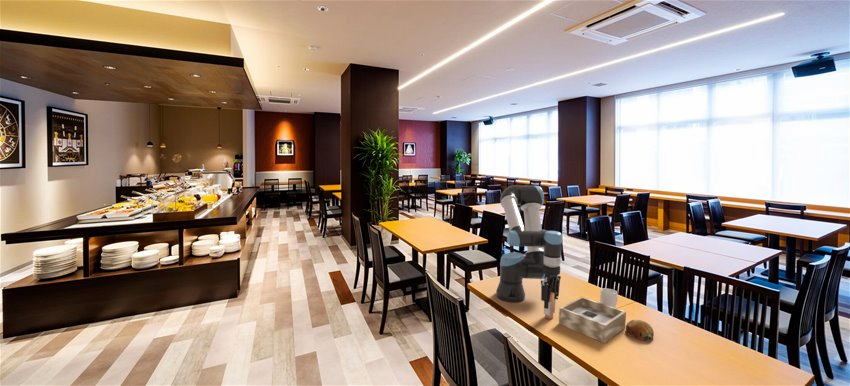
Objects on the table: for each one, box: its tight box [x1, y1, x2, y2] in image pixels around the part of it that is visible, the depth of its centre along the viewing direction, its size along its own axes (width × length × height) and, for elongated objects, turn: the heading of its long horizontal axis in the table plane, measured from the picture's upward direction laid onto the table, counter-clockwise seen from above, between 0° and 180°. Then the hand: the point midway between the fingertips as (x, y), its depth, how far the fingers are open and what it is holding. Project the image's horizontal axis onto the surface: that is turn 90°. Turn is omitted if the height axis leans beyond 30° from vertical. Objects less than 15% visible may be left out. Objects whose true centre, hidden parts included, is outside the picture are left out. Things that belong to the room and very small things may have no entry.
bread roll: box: [625, 319, 655, 342], centre depth 142 cm, size 10×10×8 cm
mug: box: [599, 287, 618, 308], centre depth 160 cm, size 10×7×12 cm, turn 116°
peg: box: [544, 292, 554, 320], centre depth 156 cm, size 4×4×12 cm
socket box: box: [558, 296, 627, 344], centre depth 149 cm, size 20×20×8 cm
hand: (549, 313), depth 157 cm, fingers closed on peg, 3 cm apart
